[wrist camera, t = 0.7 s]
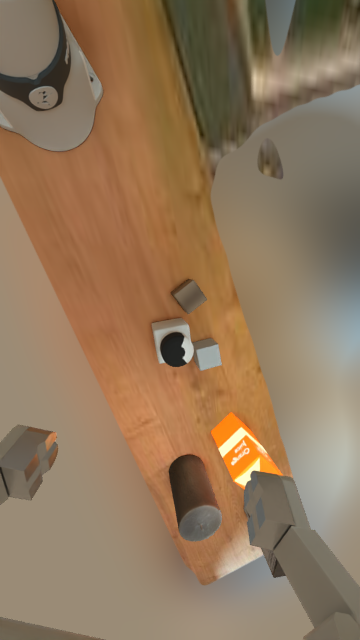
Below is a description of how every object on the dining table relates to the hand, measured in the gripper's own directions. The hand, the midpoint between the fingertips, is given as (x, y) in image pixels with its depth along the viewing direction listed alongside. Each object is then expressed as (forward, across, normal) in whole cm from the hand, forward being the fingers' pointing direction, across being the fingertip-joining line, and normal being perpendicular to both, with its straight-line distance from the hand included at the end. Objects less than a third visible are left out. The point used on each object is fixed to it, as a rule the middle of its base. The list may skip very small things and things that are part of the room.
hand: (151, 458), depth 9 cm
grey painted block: (+41, -6, +20) cm, 46 cm away
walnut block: (+43, +1, +8) cm, 44 cm away
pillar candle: (+33, -8, +53) cm, 63 cm away
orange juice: (+39, -17, +42) cm, 59 cm away
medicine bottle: (+40, +3, +17) cm, 43 cm away
